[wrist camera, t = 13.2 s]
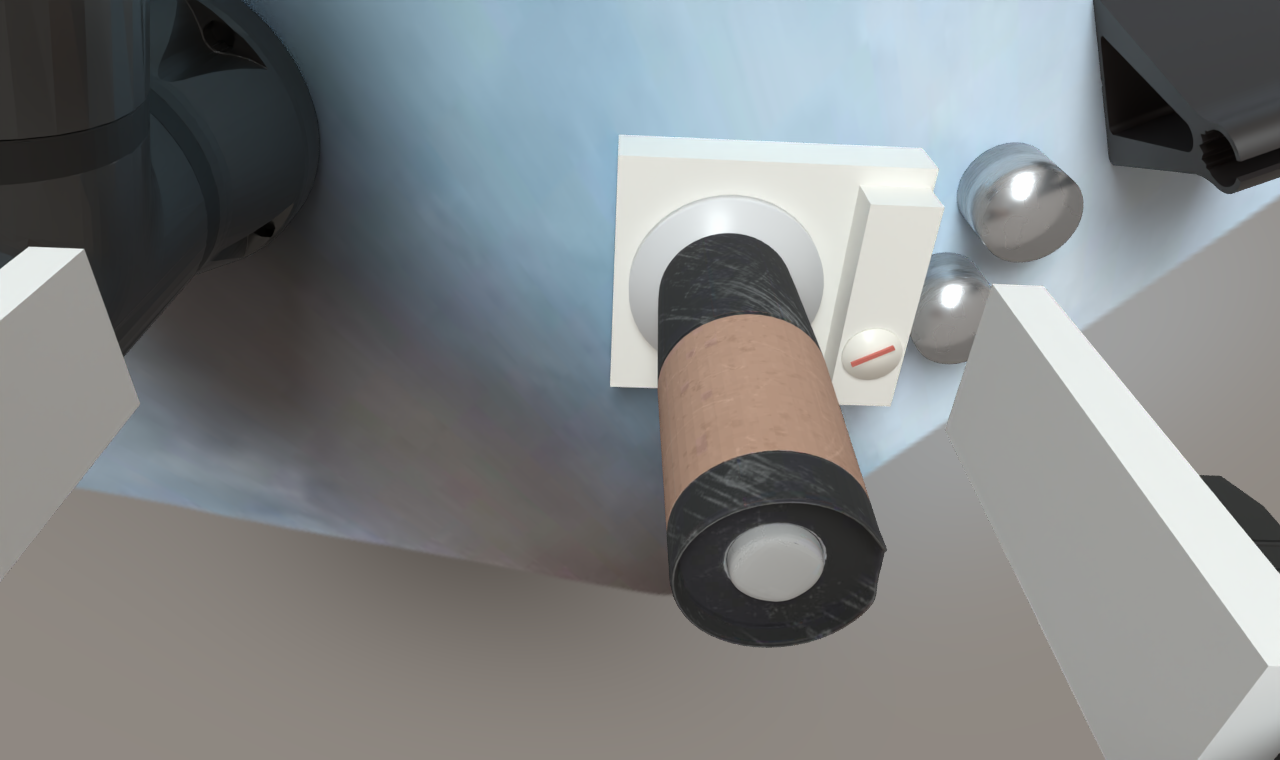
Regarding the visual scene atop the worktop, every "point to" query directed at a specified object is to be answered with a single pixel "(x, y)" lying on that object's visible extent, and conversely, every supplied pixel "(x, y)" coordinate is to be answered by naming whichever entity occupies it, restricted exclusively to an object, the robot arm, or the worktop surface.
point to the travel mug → (756, 455)
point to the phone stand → (1193, 87)
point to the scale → (782, 242)
